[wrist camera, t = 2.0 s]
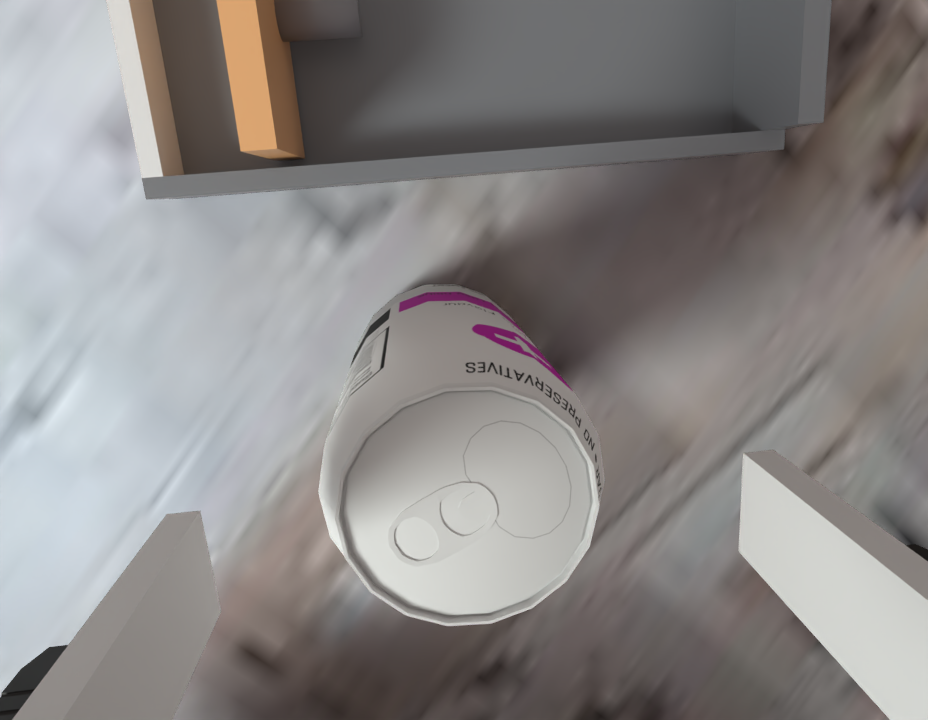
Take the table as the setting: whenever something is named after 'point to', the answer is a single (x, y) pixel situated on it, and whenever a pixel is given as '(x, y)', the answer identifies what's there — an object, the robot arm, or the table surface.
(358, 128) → the pusher lane
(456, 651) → the table surface
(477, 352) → the supplement can
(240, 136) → the pusher
